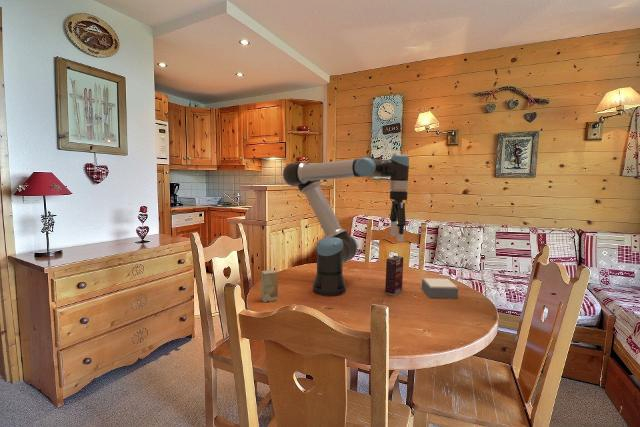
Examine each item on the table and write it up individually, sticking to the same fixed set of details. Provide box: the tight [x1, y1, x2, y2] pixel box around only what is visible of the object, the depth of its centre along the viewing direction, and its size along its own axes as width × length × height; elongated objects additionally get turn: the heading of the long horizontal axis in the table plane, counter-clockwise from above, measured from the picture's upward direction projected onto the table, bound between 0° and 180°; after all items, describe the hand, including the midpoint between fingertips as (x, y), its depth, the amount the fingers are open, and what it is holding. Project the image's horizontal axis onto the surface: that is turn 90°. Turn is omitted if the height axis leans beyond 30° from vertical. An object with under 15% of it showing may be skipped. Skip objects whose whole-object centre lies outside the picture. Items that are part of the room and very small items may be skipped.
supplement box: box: [384, 255, 405, 297], centre depth 145 cm, size 9×5×16 cm, turn 143°
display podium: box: [421, 277, 459, 299], centre depth 144 cm, size 12×12×5 cm
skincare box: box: [260, 269, 279, 303], centre depth 135 cm, size 6×4×12 cm
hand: (396, 238), depth 144 cm, fingers open, 13 cm apart
